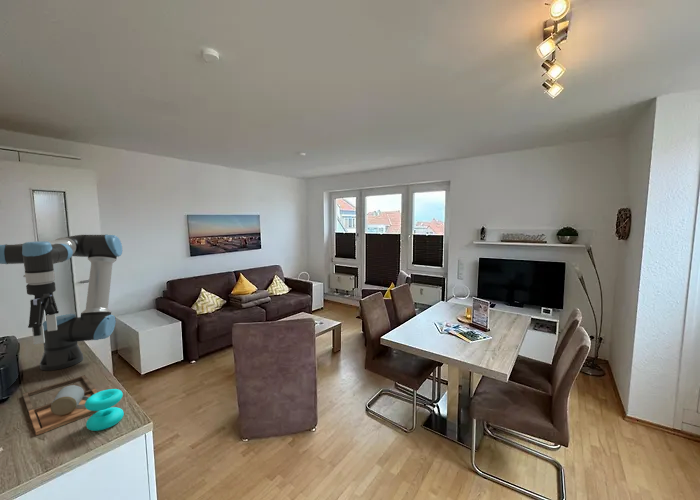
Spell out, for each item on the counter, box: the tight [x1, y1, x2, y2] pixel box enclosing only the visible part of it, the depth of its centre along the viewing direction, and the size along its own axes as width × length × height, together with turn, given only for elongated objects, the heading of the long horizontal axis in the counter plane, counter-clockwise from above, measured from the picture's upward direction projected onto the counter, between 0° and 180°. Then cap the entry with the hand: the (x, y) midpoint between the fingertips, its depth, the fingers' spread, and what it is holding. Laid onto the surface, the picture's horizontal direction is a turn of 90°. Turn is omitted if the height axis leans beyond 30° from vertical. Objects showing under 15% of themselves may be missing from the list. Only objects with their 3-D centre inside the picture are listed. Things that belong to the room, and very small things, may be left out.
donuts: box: [85, 388, 125, 432], centre depth 101 cm, size 10×10×10 cm
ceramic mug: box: [51, 384, 89, 416], centre depth 108 cm, size 11×8×8 cm
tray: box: [22, 374, 99, 436], centre depth 113 cm, size 35×18×1 cm, turn 53°
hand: (46, 336), depth 113 cm, fingers open, 13 cm apart
